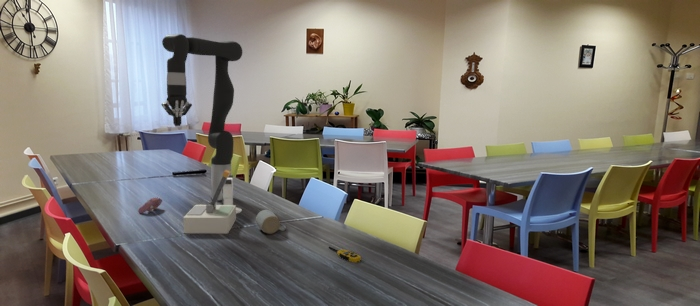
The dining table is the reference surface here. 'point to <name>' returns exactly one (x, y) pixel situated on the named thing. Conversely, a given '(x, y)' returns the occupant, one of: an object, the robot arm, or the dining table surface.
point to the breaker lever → (220, 187)
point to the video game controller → (150, 205)
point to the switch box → (209, 219)
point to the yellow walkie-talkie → (347, 255)
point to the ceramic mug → (268, 222)
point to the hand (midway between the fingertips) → (177, 125)
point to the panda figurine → (229, 193)
